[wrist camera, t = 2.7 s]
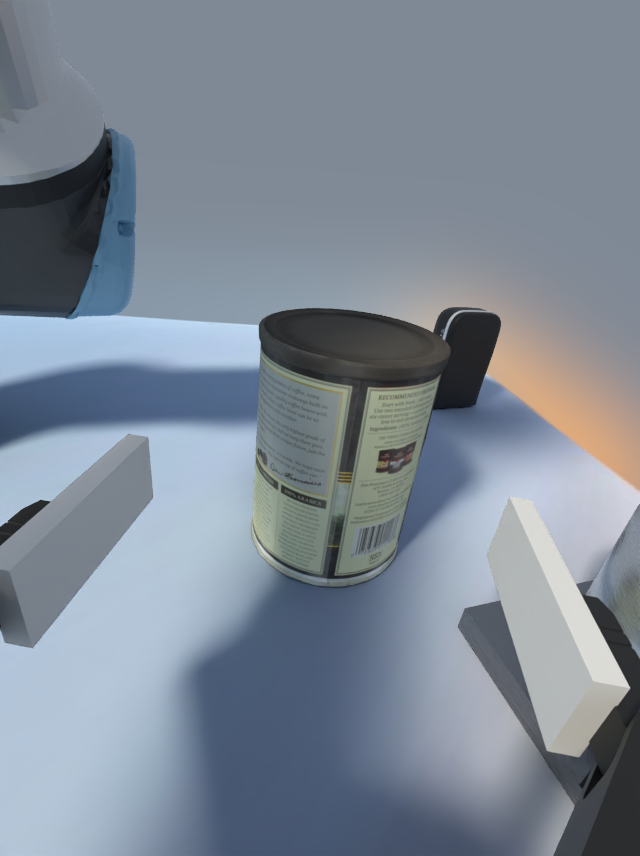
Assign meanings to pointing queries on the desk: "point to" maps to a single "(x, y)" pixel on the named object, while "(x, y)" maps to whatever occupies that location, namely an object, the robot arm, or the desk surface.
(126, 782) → the desk surface
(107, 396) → the desk surface
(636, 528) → the door knob
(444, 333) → the battery charger
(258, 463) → the coffee can
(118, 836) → the desk surface
